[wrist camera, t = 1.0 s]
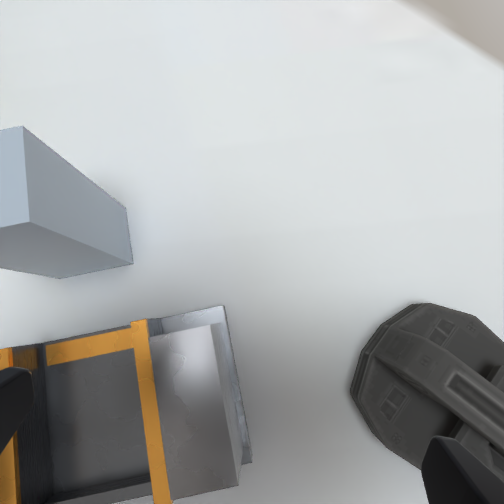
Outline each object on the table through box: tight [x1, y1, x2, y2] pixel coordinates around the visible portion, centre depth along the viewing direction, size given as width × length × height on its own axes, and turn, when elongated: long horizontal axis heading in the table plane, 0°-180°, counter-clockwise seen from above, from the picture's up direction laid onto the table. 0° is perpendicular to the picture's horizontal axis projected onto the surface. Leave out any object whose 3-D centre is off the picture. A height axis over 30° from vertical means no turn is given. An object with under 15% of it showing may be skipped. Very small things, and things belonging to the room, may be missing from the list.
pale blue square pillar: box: [0, 126, 133, 279], centre depth 17 cm, size 4×5×10 cm
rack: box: [0, 305, 252, 504], centre depth 17 cm, size 9×16×6 cm, turn 102°
